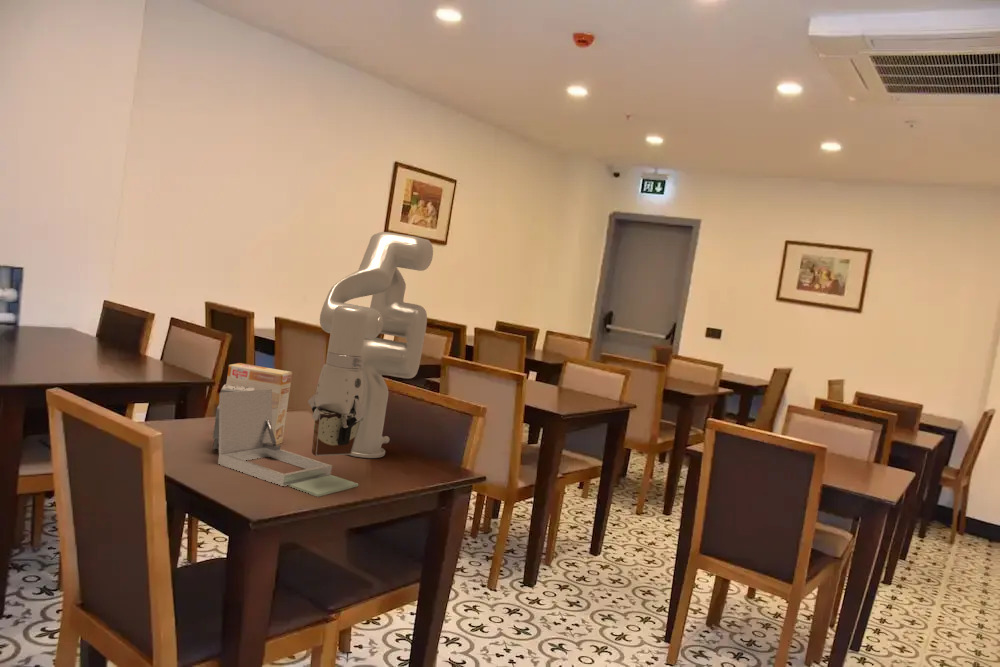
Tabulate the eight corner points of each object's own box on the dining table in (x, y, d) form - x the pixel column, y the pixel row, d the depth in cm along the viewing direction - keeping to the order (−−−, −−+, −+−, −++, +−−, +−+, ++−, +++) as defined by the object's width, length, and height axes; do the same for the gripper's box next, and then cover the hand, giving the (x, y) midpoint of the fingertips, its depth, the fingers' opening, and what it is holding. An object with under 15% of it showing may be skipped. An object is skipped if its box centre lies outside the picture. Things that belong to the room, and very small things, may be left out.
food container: (341, 446, 175) (349, 404, 174) (356, 454, 171) (364, 411, 170) (295, 447, 166) (303, 403, 165) (309, 456, 162) (318, 411, 161)
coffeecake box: (283, 442, 202) (293, 371, 201) (272, 447, 195) (282, 374, 194) (230, 432, 204) (240, 362, 202) (217, 437, 196) (228, 364, 195)
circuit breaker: (209, 455, 179) (218, 393, 178) (216, 441, 192) (224, 384, 191) (242, 458, 181) (251, 397, 180) (247, 444, 194) (255, 387, 193)
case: (260, 452, 188) (269, 388, 187) (330, 475, 178) (340, 408, 177) (209, 461, 174) (219, 392, 173) (282, 486, 164) (293, 413, 163)
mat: (331, 477, 177) (331, 474, 177) (358, 486, 173) (358, 483, 173) (289, 487, 164) (289, 484, 164) (317, 496, 161) (318, 494, 161)
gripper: (384, 368, 167) (372, 448, 168) (324, 354, 174) (312, 430, 175) (364, 369, 160) (351, 452, 161) (302, 354, 168) (290, 433, 169)
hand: (331, 440), depth 168 cm, fingers closed on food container, 6 cm apart
